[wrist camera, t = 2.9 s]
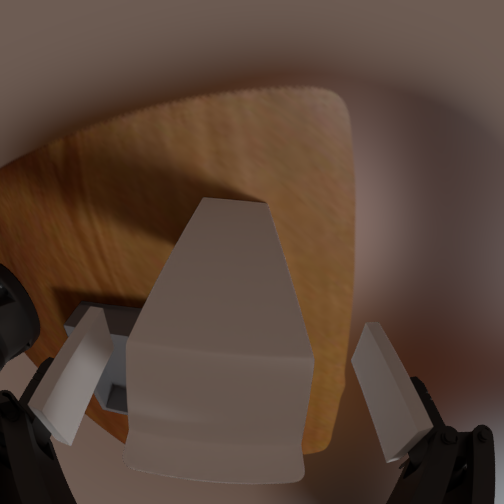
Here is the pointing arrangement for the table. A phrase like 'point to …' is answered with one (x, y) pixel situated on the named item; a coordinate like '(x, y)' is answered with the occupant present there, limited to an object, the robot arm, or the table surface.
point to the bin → (114, 374)
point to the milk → (220, 356)
